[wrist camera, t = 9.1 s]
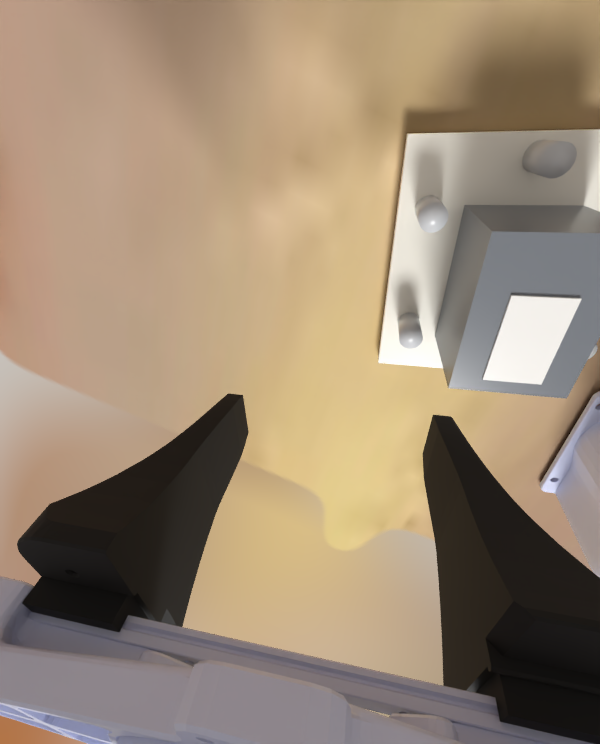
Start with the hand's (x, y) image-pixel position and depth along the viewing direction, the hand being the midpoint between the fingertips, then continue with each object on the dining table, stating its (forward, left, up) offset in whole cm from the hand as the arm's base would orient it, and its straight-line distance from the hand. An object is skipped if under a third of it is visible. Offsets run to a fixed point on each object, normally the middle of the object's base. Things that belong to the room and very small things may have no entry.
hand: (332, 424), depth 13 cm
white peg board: (+3, -8, -10) cm, 13 cm away
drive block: (+3, -8, -9) cm, 12 cm away
